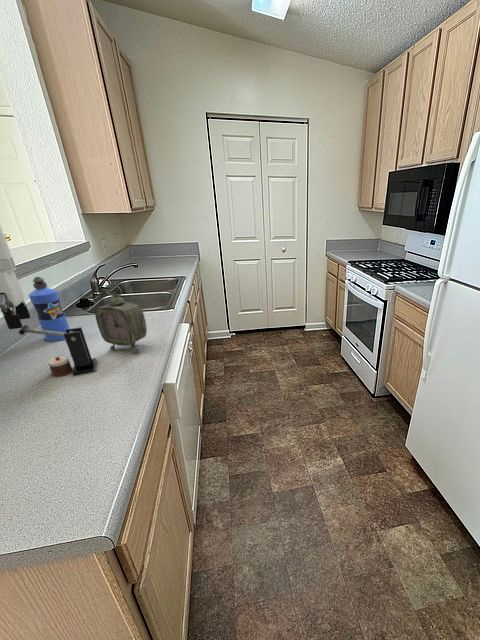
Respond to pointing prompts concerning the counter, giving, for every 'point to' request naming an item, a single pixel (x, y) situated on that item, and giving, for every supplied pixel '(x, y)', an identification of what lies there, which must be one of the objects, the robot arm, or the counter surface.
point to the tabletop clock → (121, 321)
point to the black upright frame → (79, 351)
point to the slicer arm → (40, 331)
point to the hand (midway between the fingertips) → (20, 323)
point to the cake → (60, 366)
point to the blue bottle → (48, 309)
